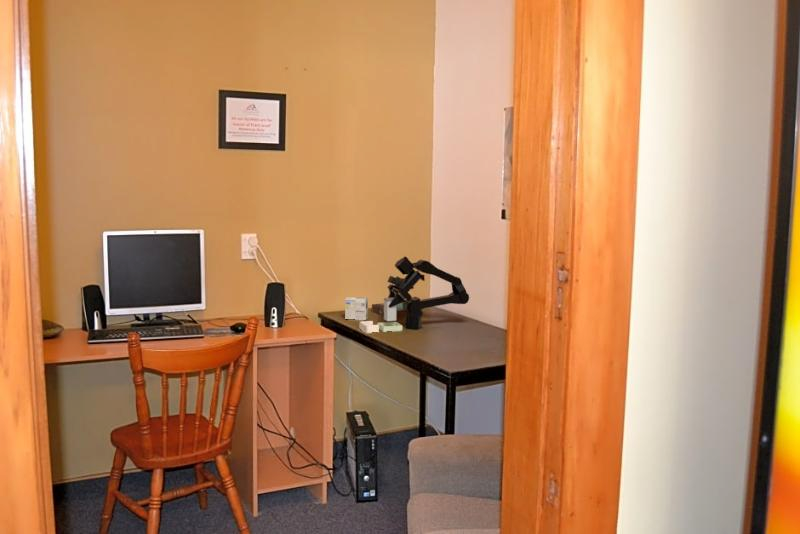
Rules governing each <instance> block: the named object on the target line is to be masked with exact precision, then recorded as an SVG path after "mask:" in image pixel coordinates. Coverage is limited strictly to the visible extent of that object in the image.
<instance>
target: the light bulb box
mask: <svg viewBox="0 0 800 534" xmlns="http://www.w3.org/2000/svg"><path fill="white" fill-rule="evenodd" d="M344 301H345V302H344V320H345V319H355V320H354V321H364V320H366V319H367V320H368V318H369V317H368V315H369V308H368V307H369V305H368V304H369V303H368V302H369V299H368V297H361V296H360V297H353V296H347V297H346V298H345V299H344ZM367 320H366V321H367Z"/></svg>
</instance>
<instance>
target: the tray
mask: <svg viewBox="0 0 800 534" xmlns="http://www.w3.org/2000/svg"><path fill="white" fill-rule="evenodd" d="M376 325H379V331H381V332H383V333H387V331H392V332H403V325H402V324H400V323H399V322H397V321H386V322H377V324H376Z"/></svg>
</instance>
